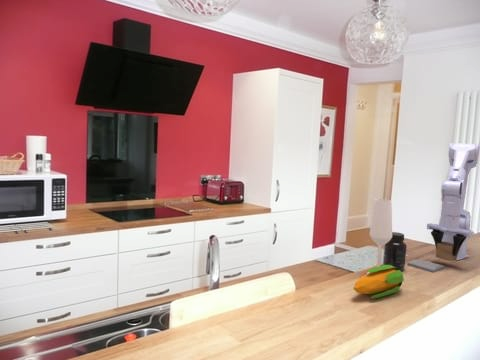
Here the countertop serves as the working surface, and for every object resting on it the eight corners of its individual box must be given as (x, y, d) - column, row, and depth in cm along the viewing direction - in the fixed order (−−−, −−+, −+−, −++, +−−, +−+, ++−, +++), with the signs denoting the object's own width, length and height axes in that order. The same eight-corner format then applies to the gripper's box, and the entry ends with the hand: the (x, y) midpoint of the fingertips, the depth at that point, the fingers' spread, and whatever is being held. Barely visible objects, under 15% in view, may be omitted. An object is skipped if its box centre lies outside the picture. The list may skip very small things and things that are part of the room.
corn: (411, 264, 108) (368, 277, 96) (410, 291, 108) (368, 307, 96) (387, 259, 114) (344, 270, 102) (387, 284, 114) (344, 298, 102)
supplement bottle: (378, 266, 130) (380, 231, 129) (393, 264, 133) (395, 230, 131) (394, 272, 124) (397, 236, 122) (409, 270, 126) (412, 235, 125)
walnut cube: (442, 254, 137) (443, 241, 137) (456, 258, 133) (458, 244, 133) (435, 257, 134) (436, 243, 134) (450, 261, 130) (451, 246, 130)
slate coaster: (418, 261, 138) (419, 259, 137) (444, 268, 130) (444, 266, 130) (407, 264, 133) (407, 262, 133) (433, 272, 126) (433, 270, 125)
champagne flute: (381, 280, 116) (388, 202, 114) (362, 274, 121) (367, 199, 119) (393, 276, 120) (399, 201, 118) (373, 270, 125) (379, 198, 123)
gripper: (423, 212, 136) (420, 249, 137) (467, 220, 124) (463, 260, 126) (433, 210, 140) (430, 246, 141) (476, 218, 129) (472, 257, 130)
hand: (446, 253), depth 134 cm, fingers closed on walnut cube, 5 cm apart
